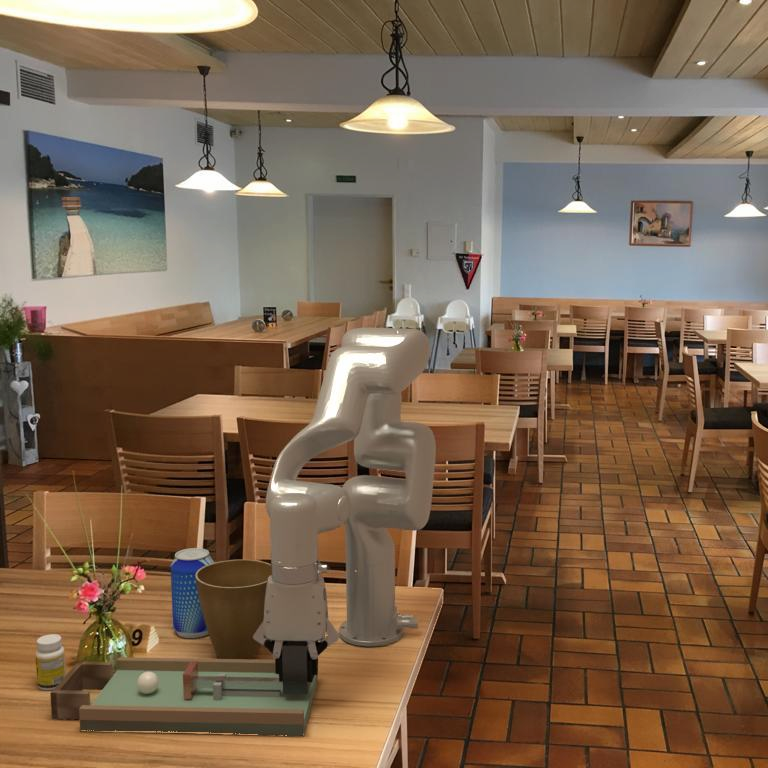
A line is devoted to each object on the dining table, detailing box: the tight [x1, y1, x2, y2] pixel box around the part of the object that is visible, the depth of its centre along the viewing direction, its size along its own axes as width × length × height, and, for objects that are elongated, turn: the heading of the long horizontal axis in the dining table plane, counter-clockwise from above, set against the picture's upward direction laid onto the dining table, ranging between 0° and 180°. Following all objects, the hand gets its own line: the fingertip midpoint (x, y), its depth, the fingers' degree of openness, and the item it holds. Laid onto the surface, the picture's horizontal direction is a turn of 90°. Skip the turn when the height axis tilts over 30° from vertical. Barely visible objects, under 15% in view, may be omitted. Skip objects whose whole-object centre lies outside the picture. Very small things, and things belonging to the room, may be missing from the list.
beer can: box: [170, 547, 215, 639], centre depth 173 cm, size 8×8×16 cm
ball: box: [137, 672, 159, 694], centre depth 145 cm, size 4×4×4 cm
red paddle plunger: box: [183, 641, 311, 699], centre depth 144 cm, size 20×5×9 cm, turn 87°
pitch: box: [79, 656, 319, 737], centre depth 145 cm, size 35×18×5 cm, turn 87°
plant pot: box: [195, 559, 271, 660], centre depth 163 cm, size 15×15×16 cm
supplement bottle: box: [34, 633, 67, 691], centre depth 152 cm, size 5×5×8 cm
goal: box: [50, 661, 114, 721], centre depth 146 cm, size 6×11×4 cm, turn 177°
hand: (297, 677), depth 144 cm, fingers closed on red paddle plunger, 4 cm apart
